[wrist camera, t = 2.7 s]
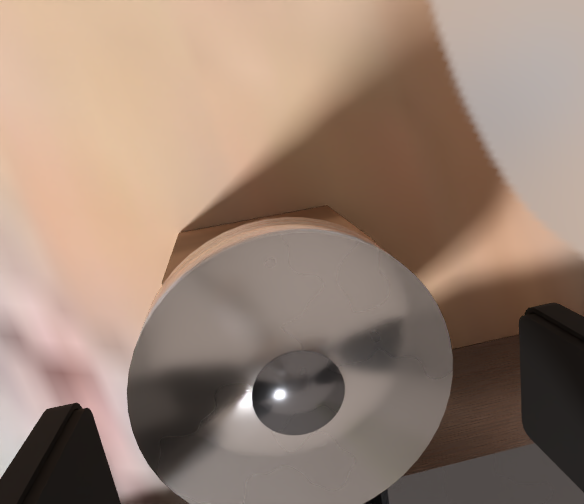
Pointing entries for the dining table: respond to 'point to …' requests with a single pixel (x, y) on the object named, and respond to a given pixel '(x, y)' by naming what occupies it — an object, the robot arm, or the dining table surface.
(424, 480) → the player
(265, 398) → the disc
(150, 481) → the dining table surface
